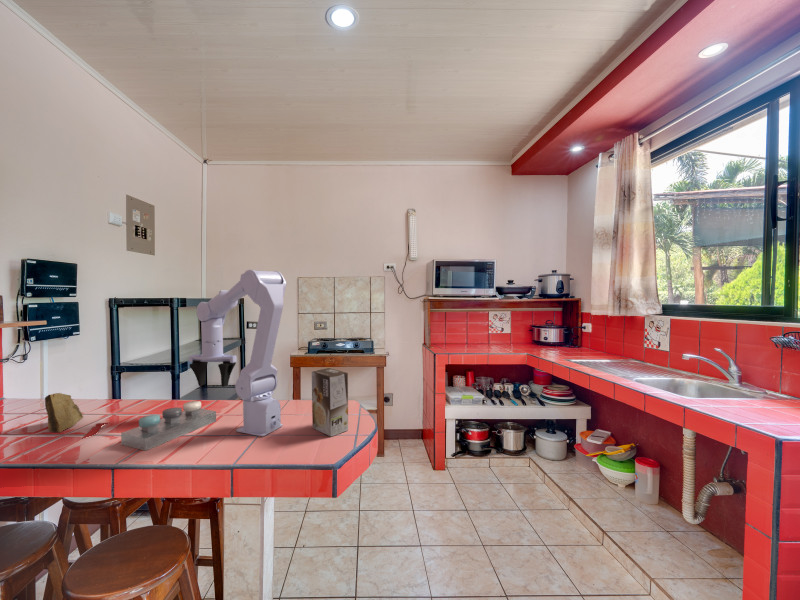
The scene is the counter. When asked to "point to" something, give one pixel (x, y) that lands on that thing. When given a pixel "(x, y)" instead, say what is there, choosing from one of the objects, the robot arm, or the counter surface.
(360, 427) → the counter surface
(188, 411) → the button ivory
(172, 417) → the button charcoal
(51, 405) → the rock
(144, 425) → the button teal
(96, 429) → the cayenne pepper
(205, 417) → the panel
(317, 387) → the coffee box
